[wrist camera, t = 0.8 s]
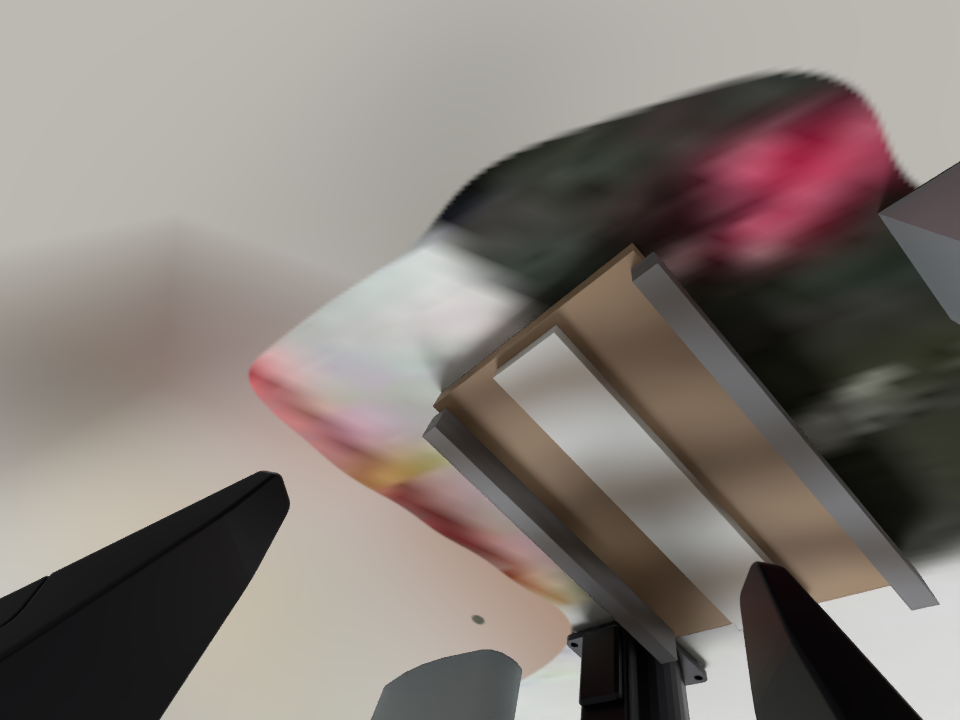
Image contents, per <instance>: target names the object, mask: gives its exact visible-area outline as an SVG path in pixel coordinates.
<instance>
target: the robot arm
mask: <svg viewBox="0 0 960 720" xmlns="http://www.w3.org/2000/svg"><path fill="white" fill-rule="evenodd" d="M289 506H290V500H289V497H288V494H287V491H286V487H285V485H284V481H283V478H282V476H281V475H280V474H278V473H274V472H269V471H259V472H257V473H255V474H253V475H251V476H249V477H247V478H245V479H242V480H241V481H238V482H236V483H234V484H232V485H230V486H228V487H226V488H224V489H222V490H220V491H218V492H216V493H214V494H212V495H210V496H208V497H206V498H204V499H202V500H200V501H198V502H196V503H194V504H192V505H190V506H188V507H186V508H184V509H182V510H180V511H178V512H175V513H173V514H171V515H169V516H167V517H165V518H163V519H161V520H159V521H157V522H155V523H153V524H151V525H149V526H147V527H145V528H143V529H141V530H139V531H137V532H135V533H133V534H131V535H129V536H127V537H125V538H123V539H121V540H119V541H117V542H115V543H112V544H110V545H109V546H106V547H104V548H102V549H101V550H98V551H96V552H94V553H92V554H90V555H88V556H86V557H84V558H82V559H80V560H78V561H76V562H74V563H72V564H70V565H68V566H66V567H64V568H62V569H60V570H58V571H56V572H54V573H52V574H51V575H50V576H45V577H43V578H41V579H39V580H37V581H35V582H33V583H31V584H29V585H27V586H25V587H23V588H21V589H19V590H17V591H15V592H13V593H11V594H9V595H7V596H4V597H2V598H0V720H160V718H161V717H162V715H163V714H164V712H165V711H166V709H167V708H168V706H169V705H170V703H171V702H172V700H173V699H174V697H175V695H176V694H177V692H178V691H179V689H180V688H181V686H182V685H183V683H184V682H185V680H186V678H187V677H188V675H189V674H190V673H191V671H192V670H193V668H194V667H195V665H196V663H197V662H198V660H199V659H200V657H201V656H202V654H203V653H204V651H205V650H206V648H207V647H208V645H209V644H210V642H211V641H212V639H213V638H214V636H215V635H216V633H217V632H218V630H219V629H220V627H221V626H222V624H223V622H224V621H225V619H226V618H227V616H228V615H229V613H230V612H231V610H232V609H233V607H234V606H235V604H236V603H237V601H238V600H239V598H240V597H241V595H242V594H243V592H244V591H245V589H246V587H247V586H248V584H249V582H250V581H251V579H252V578H253V576H254V574H255V572H256V571H257V569H258V567H259V565H260V563H261V561H262V560H263V558H264V556H265V554H266V552H267V550H268V548H269V547H270V545H271V543H272V541H273V539H274V537H275V535H276V533H277V532H278V530H279V528H280V526H281V524H282V522H283V520H284V519H285V517H286V515H287V513H288V510H289ZM740 611H741V618H742V625H743V632H744V639H745V647H746V654H747V661H748V668H749V675H750V683H751V690H752V697H753V703H754V709H755V714H756V719H757V720H923V719H922V718H921V717H920V716H919V715H918V714H917V712H916V711H915V710H914V709H913V708H912V707H911V706H910V705H909V704H908V703H907V701H906V700H905V699H904V698H903V697H902V696H901V695H900V694H899V693H898V691H897V690H896V689H895V688H894V687H893V686H892V685H891V684H890V683H889V682H888V680H887V679H886V678H885V677H884V676H883V675H882V674H881V673H880V672H879V671H878V669H877V668H876V667H875V666H874V665H873V664H872V663H871V662H870V661H869V659H868V658H867V657H866V656H865V655H864V654H863V653H862V652H861V651H860V650H859V648H858V647H857V646H856V645H855V644H854V643H853V642H852V641H851V640H850V639H849V637H848V636H847V635H846V634H845V633H844V632H843V631H842V630H841V629H840V628H839V626H838V625H837V624H836V623H835V622H834V621H833V620H832V619H831V618H830V616H829V615H828V614H827V613H826V612H825V611H824V610H823V609H822V608H821V607H820V605H819V604H818V603H817V602H816V601H815V600H814V599H813V598H812V597H811V596H810V594H809V593H808V592H807V591H806V590H805V589H804V588H803V587H802V586H801V585H800V583H799V582H798V581H797V580H796V579H795V578H794V577H793V576H792V575H791V573H790V572H789V571H788V570H787V569H785V568H784V567H782V566H780V565H777V564H771V563H766V562H760V561H756V562H754V563H752V565H751V567H750V569H749V572H748V574H747V577H746V579H745V582H744V585H743V587H742V590H741V593H740ZM675 643H676V651H677V659H678V660H677V661H673V662H668V663H663V664H661V663H660V662H659V661H658V660H657V659H656V658H655V657H654V656H653V655H652V654H651V653H650V652H649V651H648V650H646V649H645V648H644V647H643V646H642V645H641V644H640V643H639V642H638V641H637V640H636V639H635V638H634V637H633V636H632V635H631V634H630V633H629V632H628V631H626V630H625V629H624V628H623V627H622V626H621V625H620V624H619V623H618V622H617V621H616V622H613V623H609V624H606V625H602V626H599V627H595V628H592V629H588V630H585V631H581V632H578V633H574V634H571V635H568V637H567V645H568V646H569V647H570V648H571V649H572V650H573V651H574V652H575V653H576V654H577V655H578V656H580V657H581V674H580V691H579V704H580V705H581V720H690V718H689V710H688V702H687V695H686V687H685V686H686V685H691V684H697V683H703V682H706V681H707V675H706V671H705V669H703V668H702V667H701V666H700V665H699V664H698V663H697V662H696V661H695V660H694V659H693V658H692V657H691V656H690V655H689V654H688V653H687V652H686V651H685V650H684V649H683V648H682V647H681V646H680V645H679V644H678V643H677V642H676V641H675Z"/></svg>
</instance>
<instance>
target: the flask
mask: <svg viewBox="0 0 960 720" xmlns="http://www.w3.org/2000/svg"><path fill="white" fill-rule="evenodd" d="M521 675H522V669H521V667H520V666H519V665H518V664H517V662H515V661H514V660H513V659H512V658H510V657H508V656H507V655H505V654H503V653H501V652H498V651H494V650H478V651H473V652H468V653H463V654H459V655H454V656H449V657H444V658H441V659H438V660H435V661H432V662H429V663H426V664H422V665H420V666H418V667H416V668H414V669H412V670H410V671H407V672H405V673H404V674H402V675H401V676H399V677H398V678H396V679H395V680H393V681H392V682H390V683H389V684H387V685H386V686H385V687H384V689H383V691H382V694H381V697H380V699H379V701H378V704H377V706H376V709H375V711H374V714H373V716H372V718H371V720H514V717H515V711H516V705H517V699H518V693H519V687H520V681H521Z"/></svg>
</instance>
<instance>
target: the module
mask: <svg viewBox="0 0 960 720" xmlns="http://www.w3.org/2000/svg"><path fill="white" fill-rule="evenodd" d="M878 215H879V216H880V218H881V219H882V220H883V222H884V223H885V225H886V226H887V228H888V229H889V231H890V232H891V233H892V235H893V236H894V238H895V239H896V241H897V242H898V244H899V245H900V246H901V248H902V249H903V251H904V252H905V254H906V255H907V257H908V258H909V259H910V261H911V262H912V264H913V265H914V267H915V268H916V270H917V271H918V273H919V274H920V275H921V277H922V278H923V280H924V281H925V283H926V284H927V286H928V287H929V288H930V290H931V291H932V293H933V294H934V296H935V297H936V299H937V300H938V301H939V303H940V304H941V306H942V307H943V309H944V310H945V312H946V313H947V314H948V316H949V317H950V319H951V320H953V321H955V322H956V323H958V324H960V161H959V162H958V163H956V164H955V165H953V166H952V167H950V168H948V169H947V170H945V171H943V172H942V173H940V174H938V175H937V176H935V177H934V178H932V179H930V180H929V181H927V182H926V183H924V184H922V185H921V186H920V187H919V188H918V189H916V190H915V191H913V192H911V193H910V194H908V195H907V196H905V197H903V198H902V199H900V200H899V201H897V202H895V203H894V204H892V205H891V206H889V207H887V208H886V209H884V210H883V211H881V212H879V213H878Z"/></svg>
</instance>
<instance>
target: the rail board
mask: <svg viewBox="0 0 960 720" xmlns="http://www.w3.org/2000/svg"><path fill="white" fill-rule="evenodd" d="M433 407H434V408H435V409H436V410H437V411H438V412H439V414H438V415H436V416H435V417H434V418H433V419H432V421H431V423H430V424H429V426H428V427H427V429H426V431H425V432H424V434H423V436H422V437H424V438H425V439H426V440H427V441H428V442H429V443H430V444H431V445H432V446H433V447H434V448H435V449H436V450H437V451H438V452H439V453H440V454H441V455H442V456H443V457H445V458H446V459H447V460H448V461H449V462H450V463H451V464H452V465H453V466H454V467H455V468H456V469H457V470H458V471H459V472H460V473H461V474H462V475H463V476H465V477H466V478H467V479H468V480H469V481H470V482H471V483H472V484H473V485H474V486H475V487H476V488H477V489H478V490H479V491H480V492H481V493H482V494H483V495H485V496H486V497H487V498H488V499H489V500H490V501H491V502H492V503H493V504H494V505H495V506H496V507H497V508H498V509H499V510H500V511H501V512H502V513H503V514H504V515H506V516H507V517H508V518H509V519H510V520H511V521H512V522H513V523H514V524H515V525H516V526H517V527H518V528H519V529H520V530H521V531H522V532H523V533H524V534H526V535H527V536H528V537H529V538H530V539H531V540H532V541H533V542H534V543H535V544H536V545H537V546H538V547H539V548H540V549H541V550H542V551H543V552H544V553H546V554H547V555H548V556H549V557H550V558H551V559H552V560H553V561H554V562H555V563H556V564H557V565H558V566H559V567H560V568H561V569H562V570H563V571H564V572H565V573H567V574H568V575H569V576H570V577H571V578H572V579H573V580H574V581H575V582H576V583H577V584H578V585H579V586H580V587H581V588H582V589H583V590H584V591H585V592H587V593H588V594H589V595H590V596H591V597H592V598H593V599H594V600H595V601H596V602H597V603H598V604H599V605H600V606H601V607H602V608H603V609H604V610H605V611H607V612H608V613H609V614H610V615H611V616H612V617H613V618H614V619H615V620H616V621H617V622H618V623H619V624H620V625H621V626H622V627H623V628H624V629H625V630H626V631H628V632H629V633H630V634H631V635H632V636H633V637H634V638H635V639H636V640H637V641H638V642H639V643H640V644H641V645H642V646H643V647H644V648H645V649H646V650H648V651H649V652H650V653H651V654H652V655H653V656H654V657H655V658H656V659H657V660H658V661H659V662H660V663H661V664H663V663H668V662H673V661H677V660H678V659H677V651H676V643H675V638H676V637H681V636H685V635H689V634H693V633H697V632H701V631H705V630H709V629H714V628H718V627H722V626H726V625H730V624H733V625H734V626H735V627H736V628H737V629H738V630H739V631H741V630H743V625H742V618H741V611H740V593H741V590H742V587H743V585H744V582H745V579H746V577H747V574H748V572H749V569H750V567H751V565H752V563H754V562H756V561H760V562H766V563H771V564H777V565H780V566H782V567H784V568H785V569H787V570H788V571H789V572H790V573H791V575H792V576H793V577H794V578H795V579H796V580H797V581H798V582H799V583H800V585H801V586H802V587H803V588H804V589H805V590H806V591H807V592H808V593H809V594H810V596H811V597H812V598H813V599H814V600H815V601H816V602H817V603H821V602H825V601H829V600H833V599H837V598H841V597H845V596H849V595H853V594H858V593H862V592H866V591H870V590H874V589H878V588H882V587H886V586H891V587H892V588H893V589H894V590H895V591H896V593H897V594H898V595H899V596H900V597H901V598H902V600H903V601H904V602H905V603H906V604H907V606H908V607H909V608H910V609H911V610H916V609H921V608H925V607H930V606H935V605H939V602H938V601H937V599H936V598H935V596H934V595H933V593H932V592H931V590H930V589H929V588H928V586H927V585H926V583H925V582H924V580H923V579H922V577H921V576H920V574H919V573H918V571H917V570H916V569H915V568H914V566H913V565H912V564H911V563H910V562H909V560H908V559H907V558H906V557H905V555H904V554H903V553H902V552H901V551H900V549H899V548H898V547H897V546H896V545H895V543H894V542H893V541H892V540H891V539H890V537H889V536H888V535H887V534H886V532H885V531H884V530H883V529H882V528H881V526H880V525H879V524H878V523H877V522H876V520H875V519H874V518H873V517H872V515H871V514H870V513H869V512H868V511H867V509H866V508H865V507H864V506H863V505H862V503H861V502H860V501H859V500H858V498H857V497H856V496H855V495H854V494H853V492H852V491H851V490H850V489H849V488H848V486H847V485H846V484H845V483H844V481H843V480H842V479H841V478H840V477H839V475H838V474H837V473H836V472H835V471H834V469H833V468H832V467H831V466H830V464H829V463H828V462H827V461H826V460H825V458H824V457H823V456H822V455H821V454H820V452H819V451H818V450H817V449H816V448H815V446H814V445H813V444H812V443H811V441H810V440H809V439H808V438H807V437H806V435H805V434H804V433H803V432H802V431H801V429H800V428H799V427H798V426H797V424H796V423H795V422H794V421H793V420H792V418H791V417H790V416H789V415H788V414H787V412H786V411H785V410H784V409H783V407H782V406H781V405H780V404H779V403H778V401H777V400H776V399H775V398H774V397H773V395H772V394H771V393H770V392H769V390H768V389H767V388H766V387H765V386H764V384H763V383H762V382H761V381H760V380H759V378H758V377H757V376H756V375H755V374H754V372H753V371H752V370H751V369H750V367H749V366H748V365H747V364H746V363H745V361H744V360H743V359H742V358H741V357H740V355H739V354H738V353H737V352H736V350H735V349H734V348H733V347H732V346H731V344H730V343H729V342H728V341H727V340H726V338H725V337H724V336H723V335H722V333H721V332H720V331H719V330H718V329H717V327H716V326H715V325H714V324H713V323H712V321H711V320H710V319H709V318H708V316H707V315H706V314H705V313H704V312H703V310H702V309H701V308H700V307H699V306H698V304H697V303H696V302H695V301H694V300H693V298H692V297H691V296H690V295H689V293H688V292H687V291H686V290H685V289H684V287H683V286H682V285H681V284H680V283H679V281H678V280H677V279H676V278H675V276H674V275H673V274H672V273H671V272H670V270H669V269H668V268H667V267H666V266H665V264H664V263H663V262H662V261H661V259H660V258H659V257H658V256H657V255H656V253H655V252H652V253H651V254H650V255H648V256H647V257H646V258H645V257H644V256H643V255H642V254H641V252H640V251H639V250H638V249H637V248H636V246H635V245H634V244H633V243H632V244H630V245H629V246H628V247H626V248H625V249H624V250H623V251H621V252H620V253H619V254H618V255H616V256H615V257H614V258H612V259H611V260H610V261H609V262H607V263H606V264H605V265H604V266H602V267H601V268H600V269H598V270H597V271H596V272H595V273H593V274H592V275H591V276H590V277H588V278H587V279H586V280H585V281H583V282H582V283H581V284H579V285H578V286H577V287H576V288H574V289H573V290H572V291H571V292H569V293H568V294H567V295H565V296H564V297H563V298H562V299H560V300H559V301H558V302H557V303H555V304H554V305H553V306H552V307H550V308H549V309H548V310H546V311H545V312H544V313H543V314H541V315H540V316H539V317H538V318H536V319H535V320H534V321H532V322H531V323H530V324H529V325H527V326H526V327H525V328H524V329H522V330H521V331H520V332H518V333H517V334H516V335H515V336H513V337H512V338H511V339H510V340H508V341H507V342H506V343H505V344H503V345H502V346H501V347H499V348H498V349H497V350H496V351H494V352H493V353H492V354H491V355H489V356H488V357H487V358H485V359H484V360H483V361H482V362H480V363H479V364H478V365H477V366H475V367H474V368H473V369H472V370H470V371H469V372H468V373H466V374H465V375H464V376H463V377H461V378H460V379H459V380H458V381H456V382H455V383H454V384H452V385H451V386H450V387H449V388H447V389H446V390H445V391H444V392H442V393H441V394H440V396H439V397H438V399H437V400H436V402H435V404H434V405H433Z"/></svg>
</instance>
